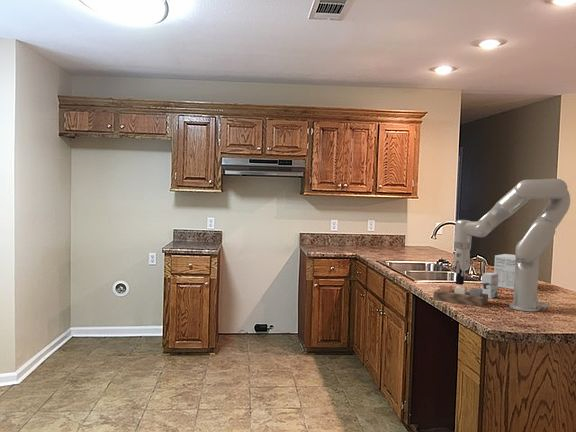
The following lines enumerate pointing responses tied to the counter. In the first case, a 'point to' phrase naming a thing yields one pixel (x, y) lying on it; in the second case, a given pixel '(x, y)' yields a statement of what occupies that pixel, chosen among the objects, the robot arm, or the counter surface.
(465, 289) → the key ivory
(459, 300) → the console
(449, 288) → the key terracotta
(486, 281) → the ink box
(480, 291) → the key slate
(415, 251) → the counter surface
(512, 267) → the supplement box
